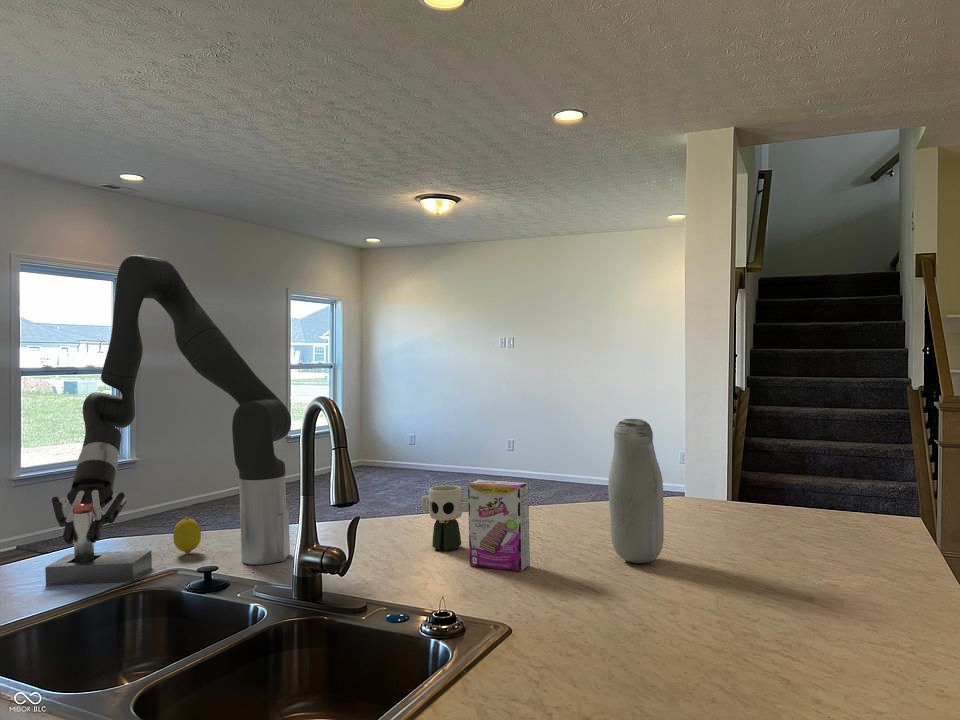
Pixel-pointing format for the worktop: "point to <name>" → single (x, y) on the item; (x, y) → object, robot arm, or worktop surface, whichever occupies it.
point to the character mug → (445, 514)
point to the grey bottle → (635, 493)
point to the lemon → (187, 535)
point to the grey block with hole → (99, 568)
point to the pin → (83, 532)
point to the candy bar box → (499, 525)
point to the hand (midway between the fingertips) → (80, 541)
